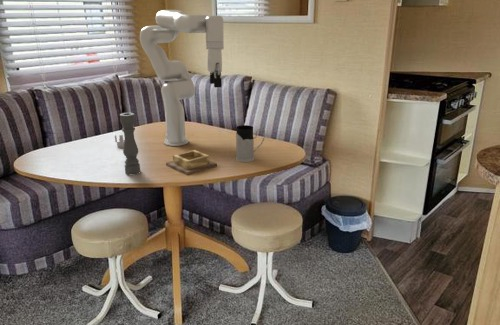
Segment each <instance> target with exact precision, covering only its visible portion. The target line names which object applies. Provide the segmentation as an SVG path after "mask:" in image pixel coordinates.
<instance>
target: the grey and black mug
mask: <svg viewBox="0 0 500 325" xmlns="http://www.w3.org/2000/svg"><path fill="white" fill-rule="evenodd" d="M261 130H262V131H263V138H262V140H261V143H260V144H259V145H258V146H257V147H256V148H255V149H254V145H255V144H254V139H256V138H257V137H258V133H259V131H261ZM265 137H266V131H265V129H264V128H258V129H257V130H256V132H255V136H254V126H252V125H246V124H243V125H238V126H237V125H236V133H235V138H236V140H235V141H236V142H235V144H236V147H235V148H236V156H235V161H236V162H240V163H247V162H248V163H250V162H253V161H254V160H255V157H254V155H255V152H256V151H257V150H258V149H259V148H260V147H261V146H262V145H263V143H264V141H265Z"/></svg>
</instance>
